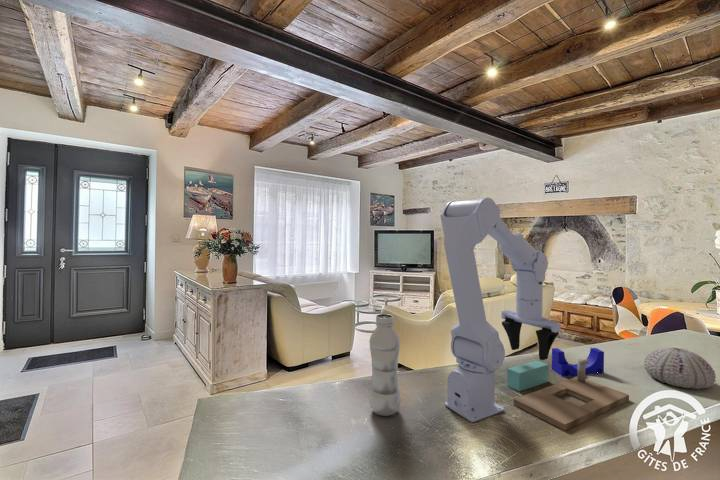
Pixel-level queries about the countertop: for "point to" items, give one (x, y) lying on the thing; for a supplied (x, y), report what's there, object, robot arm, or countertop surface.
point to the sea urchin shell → (680, 368)
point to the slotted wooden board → (567, 413)
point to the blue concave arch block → (571, 370)
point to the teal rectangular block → (527, 375)
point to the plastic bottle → (384, 367)
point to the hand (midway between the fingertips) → (528, 353)
